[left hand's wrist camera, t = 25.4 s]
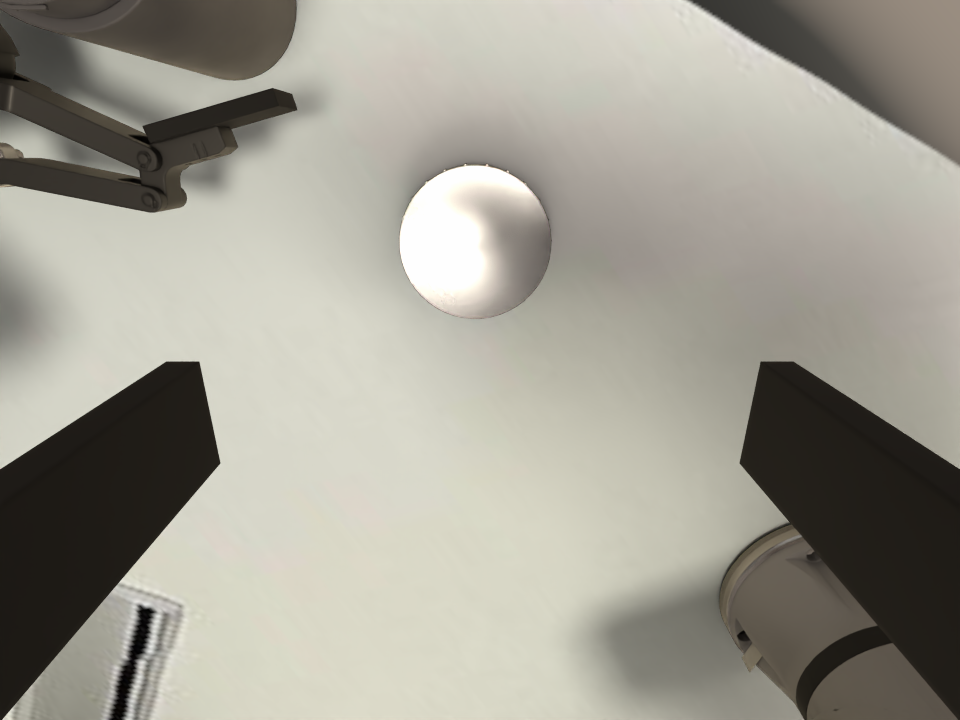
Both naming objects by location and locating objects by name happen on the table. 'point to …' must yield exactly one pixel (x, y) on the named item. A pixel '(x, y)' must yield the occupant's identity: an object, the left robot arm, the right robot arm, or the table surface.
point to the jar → (174, 30)
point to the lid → (475, 241)
